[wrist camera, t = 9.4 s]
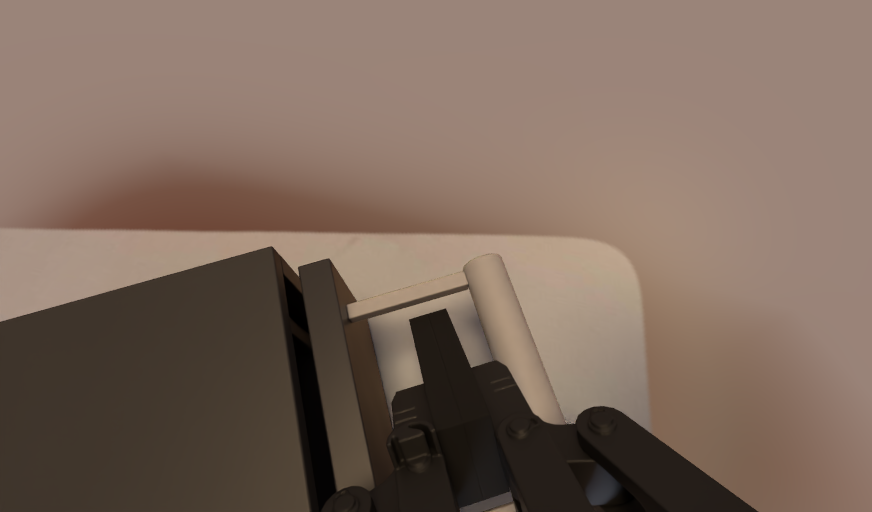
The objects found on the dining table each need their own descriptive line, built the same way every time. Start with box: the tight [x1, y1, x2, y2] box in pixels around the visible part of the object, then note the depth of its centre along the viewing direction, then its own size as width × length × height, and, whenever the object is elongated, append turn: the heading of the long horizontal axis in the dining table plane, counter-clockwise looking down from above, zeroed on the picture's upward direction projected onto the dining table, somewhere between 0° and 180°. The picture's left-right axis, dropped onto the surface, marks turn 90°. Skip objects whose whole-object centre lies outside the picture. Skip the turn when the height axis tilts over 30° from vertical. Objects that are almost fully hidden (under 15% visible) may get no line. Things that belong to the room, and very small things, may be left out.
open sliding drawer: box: [290, 254, 566, 512], centre depth 17 cm, size 20×11×7 cm, turn 106°
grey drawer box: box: [0, 247, 319, 512], centre depth 17 cm, size 15×13×9 cm
